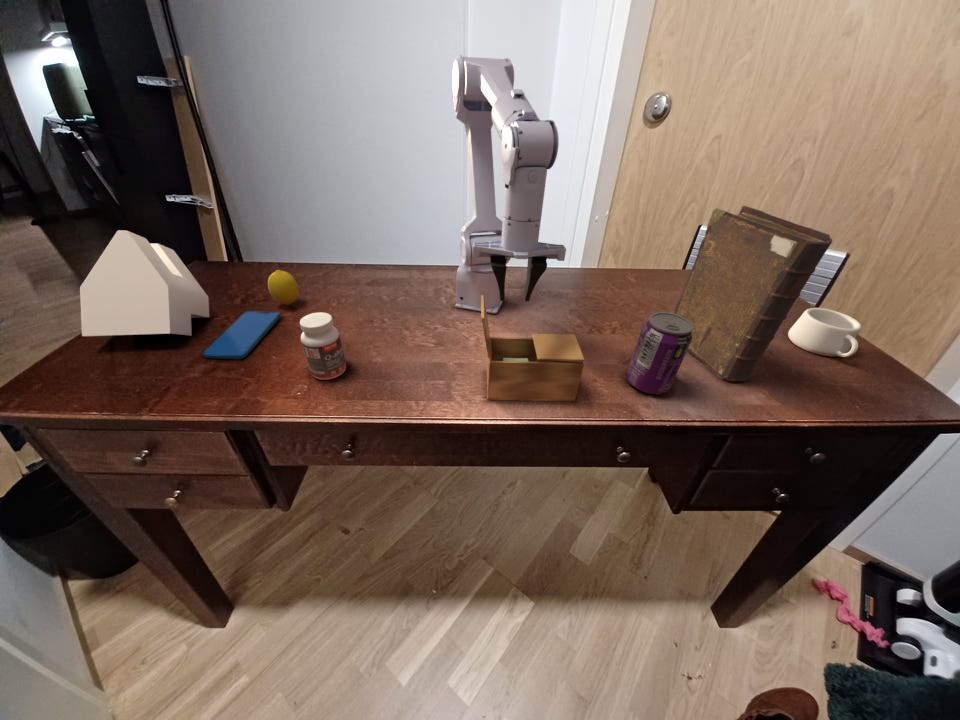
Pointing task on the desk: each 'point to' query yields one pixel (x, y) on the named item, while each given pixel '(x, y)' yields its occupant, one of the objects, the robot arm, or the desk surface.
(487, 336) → the flap
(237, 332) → the smartphone
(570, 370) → the carton
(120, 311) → the white house-shaped piece
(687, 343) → the beverage can
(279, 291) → the lemon
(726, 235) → the book
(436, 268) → the desk surface
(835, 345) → the mug
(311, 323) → the pill bottle
